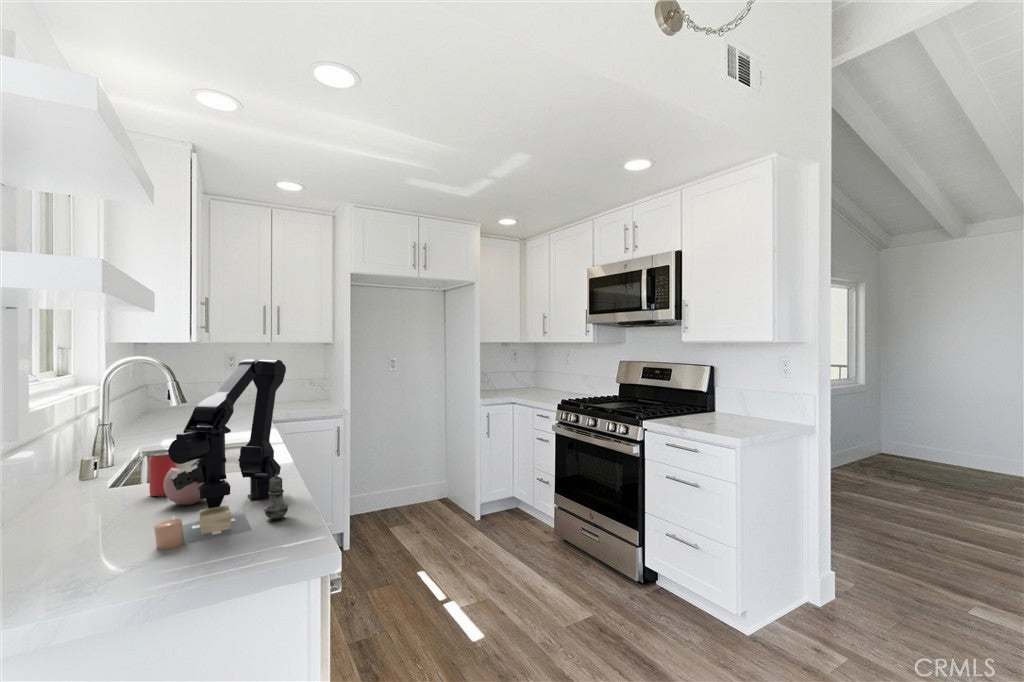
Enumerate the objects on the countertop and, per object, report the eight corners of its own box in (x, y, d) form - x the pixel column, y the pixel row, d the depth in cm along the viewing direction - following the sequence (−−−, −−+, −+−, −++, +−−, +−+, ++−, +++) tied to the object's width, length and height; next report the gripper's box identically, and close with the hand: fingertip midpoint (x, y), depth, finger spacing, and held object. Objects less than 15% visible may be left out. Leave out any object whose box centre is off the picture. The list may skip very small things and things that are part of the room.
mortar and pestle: (222, 502, 141) (221, 461, 141) (172, 514, 132) (171, 470, 132) (205, 494, 149) (205, 455, 149) (157, 504, 140) (157, 463, 140)
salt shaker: (279, 526, 123) (278, 477, 123) (257, 524, 124) (257, 475, 124) (294, 518, 129) (293, 470, 129) (273, 516, 130) (273, 469, 130)
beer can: (171, 489, 154) (170, 449, 154) (180, 493, 150) (180, 452, 150) (145, 494, 149) (145, 453, 149) (155, 498, 145) (154, 456, 145)
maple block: (199, 526, 122) (199, 510, 122) (228, 521, 126) (227, 505, 126) (201, 534, 117) (201, 517, 117) (230, 528, 121) (230, 512, 121)
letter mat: (179, 527, 123) (179, 525, 123) (244, 515, 131) (244, 513, 131) (181, 546, 112) (181, 544, 112) (252, 532, 120) (252, 530, 120)
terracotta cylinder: (157, 545, 112) (154, 523, 112) (184, 538, 115) (181, 517, 115) (156, 553, 108) (153, 530, 108) (184, 546, 111) (181, 523, 111)
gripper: (172, 451, 129) (173, 512, 130) (173, 466, 114) (174, 536, 114) (222, 446, 136) (223, 504, 136) (230, 459, 120) (230, 525, 120)
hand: (212, 516), depth 126 cm, fingers closed
